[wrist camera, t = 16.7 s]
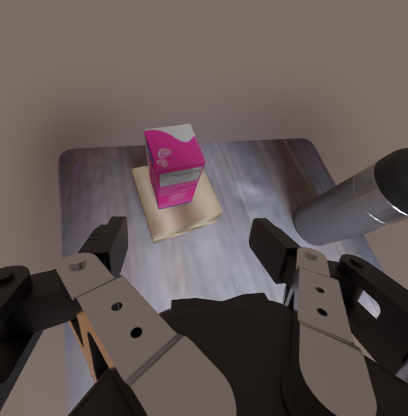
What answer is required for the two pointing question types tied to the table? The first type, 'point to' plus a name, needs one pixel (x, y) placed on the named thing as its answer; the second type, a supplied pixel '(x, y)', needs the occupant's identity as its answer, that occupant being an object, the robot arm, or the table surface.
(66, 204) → the table surface
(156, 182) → the supplement box
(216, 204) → the birch block
